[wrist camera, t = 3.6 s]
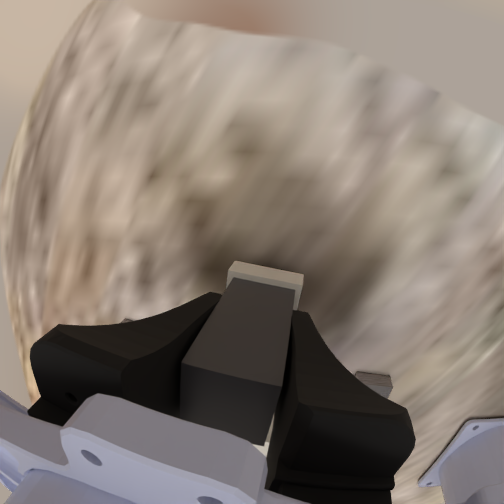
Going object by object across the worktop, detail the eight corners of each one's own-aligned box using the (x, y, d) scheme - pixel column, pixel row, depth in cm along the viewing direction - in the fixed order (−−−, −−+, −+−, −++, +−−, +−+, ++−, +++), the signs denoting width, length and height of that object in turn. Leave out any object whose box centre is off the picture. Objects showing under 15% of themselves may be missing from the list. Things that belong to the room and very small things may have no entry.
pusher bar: (425, 293, 14) (494, 399, 6) (368, 420, 16) (379, 529, 9) (122, 232, 15) (10, 290, 8) (126, 365, 18) (58, 448, 11)
